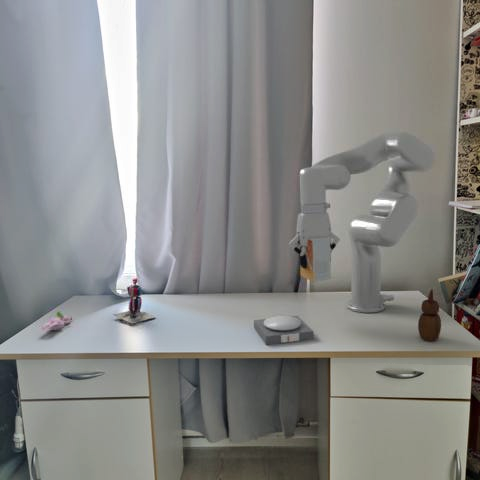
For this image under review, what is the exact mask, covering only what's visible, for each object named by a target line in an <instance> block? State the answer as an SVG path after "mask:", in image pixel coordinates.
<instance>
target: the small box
mask: <svg viewBox="0 0 480 480" xmlns="http://www.w3.org/2000/svg"><path fill="white" fill-rule="evenodd" d="M304 255H305V256H306V268H305V269H304V268H302V267H301V266H300V265H299V267H300V269H299V270H300V273H299V274H300V277H302V278H304V279H306V280H308V281H310V282H312V283H318V282H322V281H328V280H331V279H332V275H331V273H332V271H331V270H332V269H331V268H332V267H331V262H330V238H329V237H323V238H314V239H308V247H307V249H306V251H305V253H304Z"/></svg>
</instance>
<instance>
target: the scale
mask: <svg viewBox="0 0 480 480" xmlns="http://www.w3.org/2000/svg"><path fill="white" fill-rule="evenodd" d="M253 329H254V331H255V332H257V333H256V334H258V335H259V337H260V338H261V340H262V342H263V343H264V344H265V345H266V346H269V345H278V344H285V343H293V342H294V343H295V342H305V341H310V340H311V341H312V340H314V330H313V329H312V328H311V327H310V326H308V324H307V323H305V321H303V320H302V318H300V317H299V316H298V315H293V316H292V315H291V316H289V315H288V316H286V315H279V316H278V315H276V316H272V317H269V318H263V319H254V320H253Z"/></svg>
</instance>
